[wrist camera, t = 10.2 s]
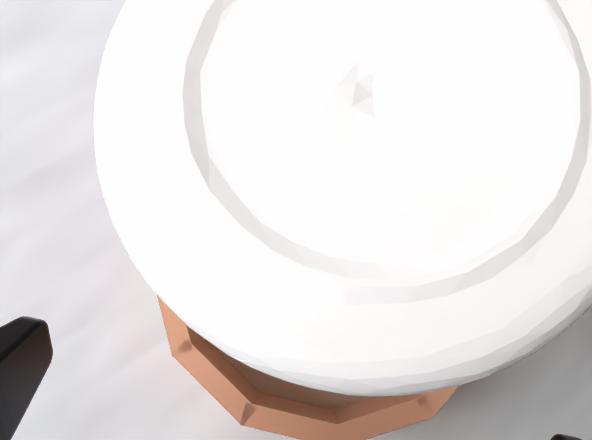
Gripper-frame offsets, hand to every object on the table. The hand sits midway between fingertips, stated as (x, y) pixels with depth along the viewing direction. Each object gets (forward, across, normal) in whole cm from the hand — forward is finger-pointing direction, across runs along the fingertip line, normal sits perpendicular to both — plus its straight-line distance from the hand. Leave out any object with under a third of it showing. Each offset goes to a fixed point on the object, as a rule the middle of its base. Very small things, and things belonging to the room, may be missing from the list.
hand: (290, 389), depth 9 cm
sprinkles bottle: (+8, 0, +4) cm, 9 cm away
